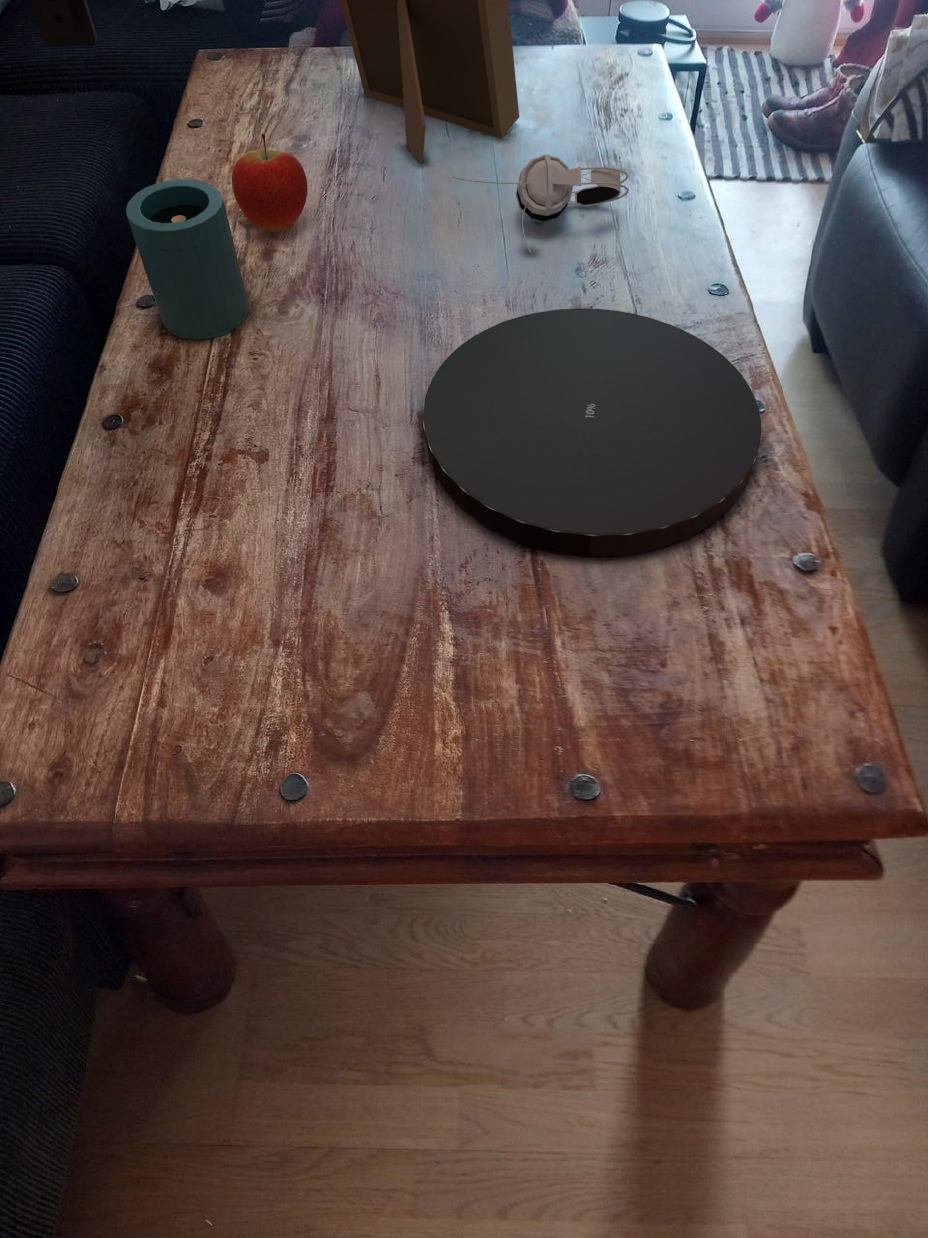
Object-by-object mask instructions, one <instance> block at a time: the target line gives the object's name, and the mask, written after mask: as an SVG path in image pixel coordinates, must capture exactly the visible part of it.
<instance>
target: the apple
mask: <svg viewBox="0 0 928 1238" xmlns="http://www.w3.org/2000/svg"><path fill="white" fill-rule="evenodd" d="M261 138H262V140H263V147H264V148H263V149H261V148H260V149H253V150H249V151H246V152H245V153H243V154H242V155H240V157H238V159H237V160H236V162H235V163H234V166H233V167H232V171H231V187H232V192H233V196H234V199H235V201H236V203H237V206H238V207H239V209H240V210H241V213H242V214H243V215H244V217H245V218H246V219H247V221H249V222H250V223H251V224H252V225H253V226H254V227H256V228H257V229H259V230H262V231H264V232H268V233H280V232H283V231H285V230H287V229H290V228H291V227H292V226H293V225H295V223H296V222H297V221H298V219H299V218H300V217H301V215H302V213H303V211H304V208H305V206H306V203H307V198H308V189H309V188H308V177H307V175H306V172H305V169H304V167H303V166H302V164H301V162H300V161H299V160H298V158H296V156H294V155H293V154H291V153H289V152H287V151H282V150H281V151H280V150H274V149H267V147H266V135H265V134H264V133H261Z"/></svg>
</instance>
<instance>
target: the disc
mask: <svg viewBox="0 0 928 1238" xmlns="http://www.w3.org/2000/svg"><path fill="white" fill-rule="evenodd" d="M757 402H758V401H757V399H756V396H755V393H754V392H753V390H752V388H751V386H750V385H749V384H748V382H747V380H746V379H745V377H744V376H743V374H742V373H741V371H740V370H738V368H736V366H735V365H733V364H732V363H731V362H730V360H729V359H728V358H727V357H726V356H725V355H724V354H723V353H721V352H720V351H719V350H717V349H716V348H714V347H713V346H712V345H710V344H708V343H707V342H706V341H704V340H703V339H702V338H701V337H700V338H699V337H697V336H696V335H693V334H692V333H689V332H688V331H685V330H684V329H682V328H680V327H677V326H675V325H672V324H670V323H667V322H664V321H661V320H658V319H656V318H653V317H649V316H645V315H642V314H641V315H640V314H636V313H632V312H628V311H627V312H626V311H621V310H615V309H614V310H613V309H601V308H589V307H586V308H585V307H582V308H558V309H552V310H545V311H539V312H538V311H537V312H532V313H528V314H524V315H521V316H517V317H514V318H511V319H507V320H503V321H502V322H499V323H497V324H495V325H492V326H491V327H488V328H486V329H484V330H482V331H479V332H478V333H476V334H475V335H473V336H472V337H471V338H469V339H468V340H466V341H464V342H463V343H462V344H460V345H458V346H457V347H456V349H454V350H453V351H452V352H451V353H450V354H449V356H447V358H446V359H445V360H443V362H441V363H440V365H439V366H438V369H437V370H436V372H435V374H434V375H433V377H432V379H431V380H430V382H429V383H428V388H427V390H426V394H425V397H424V401H423V403H422V406H423V408H422V409H423V410H422V413H423V416H422V417H423V419H422V420H423V423H422V424H423V429H424V433H425V444H426V445H425V446H426V447H425V449H426V451H427V455H428V458H429V462H430V465H431V469H432V472H433V473H434V475H435V477H436V479H437V480H438V481H439V483H440V485H441V487H442V488H443V490H444V491H445V493H446V494H447V495H448V496H449V497H450V498H451V499H452V500H453V501H454V502H455V503H456V504H457V505H458V506H459V508H461V509H462V510H463V511H464V512H465V513H466V514H467V515H469V516H470V517H471V518H473V519H474V520H476V521H477V522H479V523H481V524H482V525H483V526H484V527H486V528H488V529H489V530H491V531H493V532H495V533H497V534H500V535H502V536H503V537H506V538H508V539H510V540H512V541H514V542H517V543H519V544H522V545H525V546H526V545H527V546H530V547H533V548H537V549H541V550H543V551H548V552H551V553H557V554H563V555H564V554H565V555H573V556H582V557H587V558H588V557H622V556H623V557H625V556H629V555H634V554H640V553H641V554H642V553H646V552H651V551H656V550H661V549H663V548H665V547H668V546H671V545H674V544H677V543H679V542H682V541H685V540H687V539H690V538H691V537H693V536H695V535H696V534H698V533H700V532H701V531H703V530H704V529H706V528H708V527H710V526H711V525H713V524H715V523H716V522H717V521H718V520H719V519H720V518H721V517H722V516H723V515H725V513H727V511H728V510H730V509H731V508H732V507H733V506H734V505H735V503H736V502H737V500H738V498H739V497H740V496H741V493H742V492H743V491H744V489H745V487H746V486H747V484H748V482H749V478H750V475H751V471H752V469H753V465H754V463H755V462H756V459H757V456H758V451H759V448H760V445H761V441H762V415H761V412H760V409H759V406H758V403H757Z"/></svg>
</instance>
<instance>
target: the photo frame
mask: <svg viewBox="0 0 928 1238" xmlns="http://www.w3.org/2000/svg"><path fill="white" fill-rule="evenodd" d="M340 5H341V8H342V12H343V16H344V20H345V24H346V27H347V33H348V36H349V40H350V44H351V47H352V51H353V54H354V59H355V63H356V67H357V71H358V74H359V77H360V83H361V86H362V89H363V94H364V97H366V98H369V99H372V100H375V101H379V102H382V103H386V104H389V105H392V106H395V107H399V108H400V109H403V111H404V113H403V115H404V127H405V142H406V143H405V144H406V148H407V150H409V151H410V153H411V154H412V155H413V157H414V158H415V159H416V160H417V161H418V162H419V163H423V162H424V153H425V143H426V142H425V141H426V128H427V125H426V124H427V123H426V118H425V116H427V117H430V118H433V119H436V120H440V121H442V122H446V123H450V124H453V125H456V126H459V127H461V128H465V129H469V130H472V131H474V132H478V133H481V134H485V135H488V136H491V137H495V138H497V139H500V140H502V139H503V138H504V137H505V136H506V135H507V133H508V132H509V131H510V130H511V128H512V127H513V126H514V125H515V123H516V122H517V121H518V119H519V118H520V109H519V107H520V106H519V100H518V99H519V98H518V88H517V87H518V86H517V78H516V69H515V68H516V67H515V58H514V49H513V47H514V45H513V38H512V27H511V15H510V7H509V5H510V4H509V0H340Z"/></svg>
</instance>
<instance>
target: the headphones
mask: <svg viewBox="0 0 928 1238" xmlns="http://www.w3.org/2000/svg"><path fill="white" fill-rule="evenodd" d="M583 170H585V171H586V170H591V171H590V172H587V173H583V174H582V171H583ZM621 173H622V174H623V175H625V178H624V179H622V180H621ZM589 174H590V179H589V178H587V177H583V176H585V175H589ZM452 178H453V179H456V180H461V181H467V182H473V183H481V184H499V185H501V184H502V185H517V186H516V193H515V198H516V201H517V206H518V208H519V210H520V211H521V212H522V217H521V228H522V229H521V230H522V234H523V239H524V242H525V244H526V248H527V250H528V253H529V254H532V253H533V251H532V250H531V248H530V247H529V244H528V242H527V239H526V235H525V231H524V215H525V216H526V217H527V218H528V219H529V220H532V221H536V222H539V223H545V222H549V221H551V220H555V219H558V218H559V217H560V215H562V213H563V212H564V211H565V210H566V209H567V208H578V207H585V208H586V207H591V206H597V205H602V204H606V203H610V202H614V201H616V200H619V199H622V198H624V197H625V196H627V195H628V194H629V191H630V189H629V188H628V187H627V186H626V185H625V184H623V183H625V182H626V181H627V180H628V179H629V174H628V173H627V172H626V171H625V170H623V169H620V168H616V167H608V166H590V167H589V166H588V167H581V166H578V167H574V168H571V169H570V167H569V165H568V166H567V164H565V162H564V161H563V160H562V159H560V158H559V157H558V156H557V157H556V156H553V155H550V154H543V155H540V156H538V157H534V158H532V159H531V160H529V161H528V162H527V164H526V165H525V166H524V167H523V169H522V170H521V171H520V172H519V177H518V181H517V182H503V181H485V180H475V179H467V178H461V177H457V176H453V177H452ZM582 179H584V180H587V181H588V182H582ZM589 181H590V182H589ZM583 185H587V186H588V185H595V186H590V187H583V188H581V189H580V190H573V188H574V186H576V187H582V186H583ZM621 188H624V189H625V190H626V191H625V192H624V193H623V194H622V195H621V190H622V189H621ZM572 196H574V200H571V197H572ZM569 202H571V203H575V204H569Z"/></svg>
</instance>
